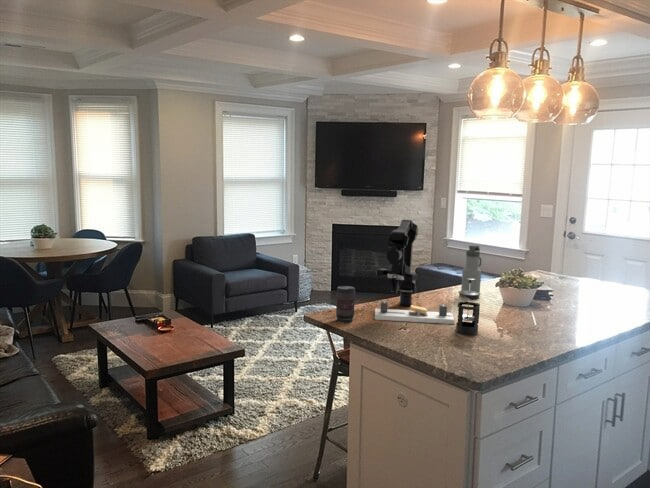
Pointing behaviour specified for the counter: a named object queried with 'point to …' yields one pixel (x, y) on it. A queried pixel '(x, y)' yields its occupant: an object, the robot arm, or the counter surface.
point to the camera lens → (345, 304)
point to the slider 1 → (384, 306)
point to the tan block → (414, 308)
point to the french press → (468, 327)
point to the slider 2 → (443, 310)
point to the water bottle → (472, 270)
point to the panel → (414, 316)
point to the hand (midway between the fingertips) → (395, 293)
